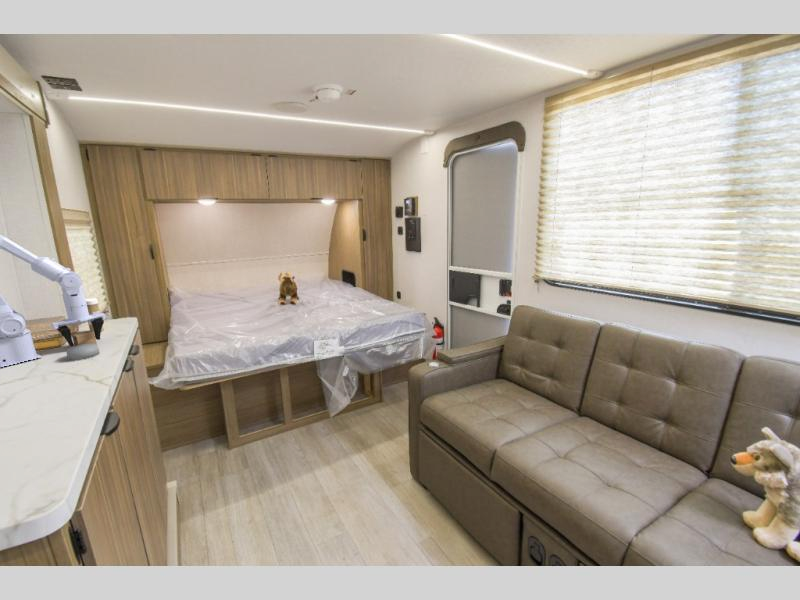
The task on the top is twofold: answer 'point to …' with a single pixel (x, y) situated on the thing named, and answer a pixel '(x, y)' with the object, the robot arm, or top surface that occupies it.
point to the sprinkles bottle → (92, 310)
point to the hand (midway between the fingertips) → (85, 342)
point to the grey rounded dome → (82, 351)
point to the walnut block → (84, 338)
